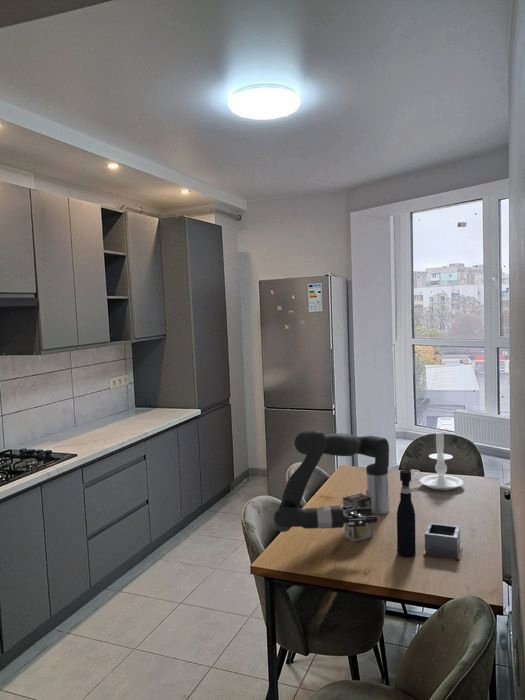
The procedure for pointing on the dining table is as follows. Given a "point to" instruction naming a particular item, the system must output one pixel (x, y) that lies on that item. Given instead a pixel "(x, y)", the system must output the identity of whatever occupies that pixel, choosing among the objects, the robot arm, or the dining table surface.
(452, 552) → the bottle sleeve
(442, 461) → the candlestick
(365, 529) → the coffee box
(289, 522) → the robot arm
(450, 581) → the dining table surface
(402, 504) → the wine bottle
